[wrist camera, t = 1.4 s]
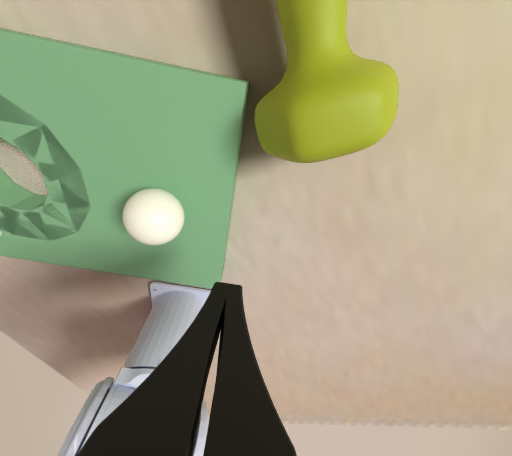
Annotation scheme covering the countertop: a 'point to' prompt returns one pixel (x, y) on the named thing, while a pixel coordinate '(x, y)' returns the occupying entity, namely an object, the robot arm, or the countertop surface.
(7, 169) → the countertop surface
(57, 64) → the green flat board
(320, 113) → the dumbbell
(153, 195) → the ball
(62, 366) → the countertop surface
